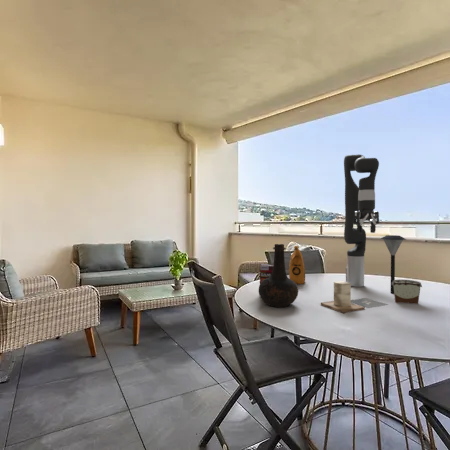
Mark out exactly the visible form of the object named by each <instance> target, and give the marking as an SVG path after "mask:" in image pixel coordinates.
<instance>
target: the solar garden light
mask: <svg viewBox="0 0 450 450" xmlns="http://www.w3.org/2000/svg"><path fill="white" fill-rule="evenodd" d="M380 240H383V242H384V244H385V246H386V247H387V249H388V252H389V254H390V294H394V287H393V285H392V282H393V280H396V277H395V276H396V273H395V272H396V254H397V252H398V250H399V249H400V246H401V244H402V243H403V241H407V238H405V237H403V236H401V235H397V234H396V235H394V234H393V235H392V234H389V235H388V234H387V235H385V236H383V237H381V238H380Z"/></svg>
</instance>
